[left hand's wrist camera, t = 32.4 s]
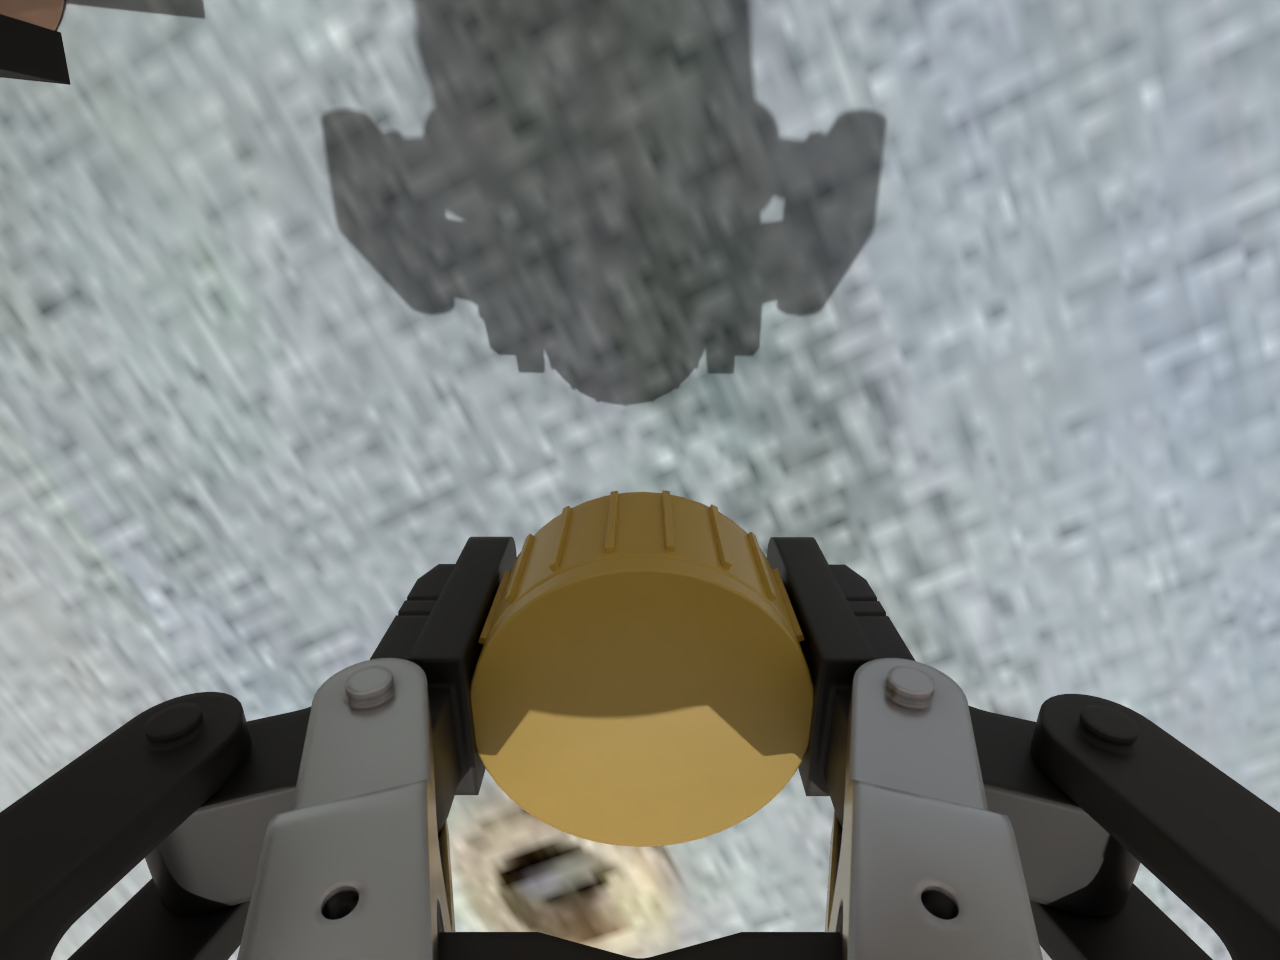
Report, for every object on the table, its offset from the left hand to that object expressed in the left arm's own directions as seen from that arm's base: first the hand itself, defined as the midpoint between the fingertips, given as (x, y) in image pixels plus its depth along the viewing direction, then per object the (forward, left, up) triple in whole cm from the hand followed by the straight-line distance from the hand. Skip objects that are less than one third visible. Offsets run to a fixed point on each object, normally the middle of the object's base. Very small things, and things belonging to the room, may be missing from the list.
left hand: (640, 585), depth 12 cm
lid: (0, 0, +3) cm, 3 cm away
